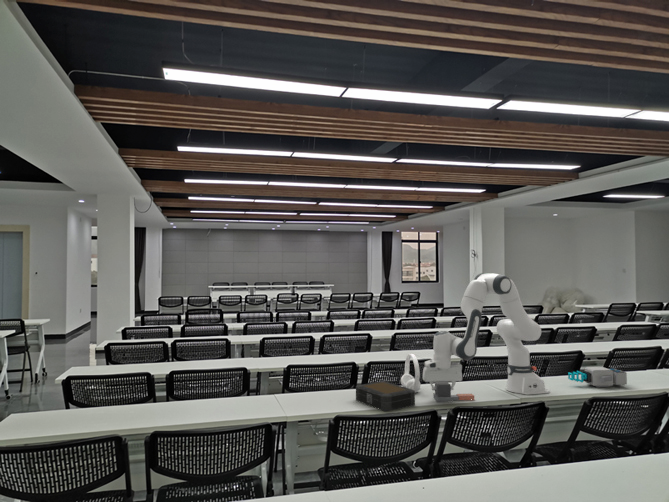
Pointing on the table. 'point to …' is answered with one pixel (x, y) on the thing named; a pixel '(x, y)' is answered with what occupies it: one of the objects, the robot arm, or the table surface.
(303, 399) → the table surface
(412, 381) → the headphones
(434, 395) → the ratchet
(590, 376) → the toy
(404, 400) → the cash box
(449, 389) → the dark grey cube
